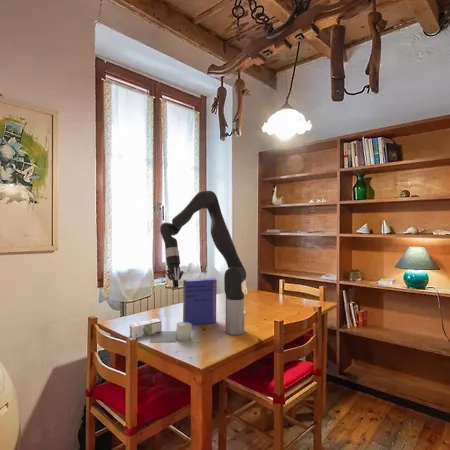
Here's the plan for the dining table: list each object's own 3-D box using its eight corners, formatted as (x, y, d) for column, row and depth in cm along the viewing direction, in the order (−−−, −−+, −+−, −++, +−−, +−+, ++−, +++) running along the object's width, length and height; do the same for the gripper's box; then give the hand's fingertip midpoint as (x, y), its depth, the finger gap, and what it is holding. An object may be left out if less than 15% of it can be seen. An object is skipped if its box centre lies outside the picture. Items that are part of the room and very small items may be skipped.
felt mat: (178, 331, 172) (178, 331, 172) (176, 342, 157) (176, 342, 157) (154, 332, 171) (154, 331, 171) (149, 342, 156) (149, 342, 156)
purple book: (213, 320, 192) (213, 277, 192) (216, 322, 188) (216, 279, 187) (182, 323, 186) (183, 279, 185) (185, 326, 182) (185, 281, 181)
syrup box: (156, 317, 174) (128, 323, 166) (161, 320, 169) (132, 327, 161) (157, 328, 175) (129, 335, 166) (162, 332, 170) (133, 338, 162)
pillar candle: (190, 336, 165) (191, 322, 165) (190, 341, 158) (191, 326, 158) (176, 335, 165) (177, 321, 165) (175, 341, 158) (176, 326, 158)
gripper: (169, 253, 183) (172, 285, 177) (185, 256, 193) (189, 286, 188) (159, 257, 187) (162, 288, 181) (175, 259, 197) (179, 289, 192)
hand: (176, 287), depth 185 cm, fingers closed
